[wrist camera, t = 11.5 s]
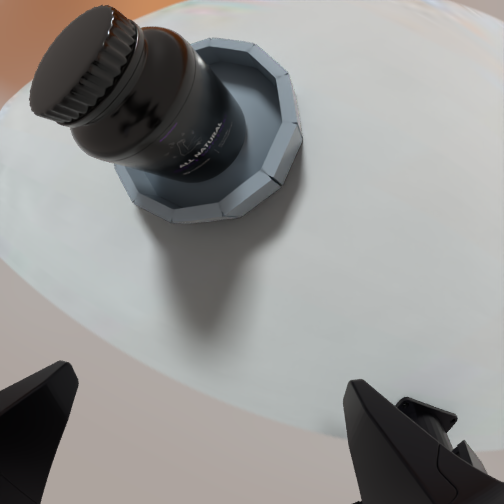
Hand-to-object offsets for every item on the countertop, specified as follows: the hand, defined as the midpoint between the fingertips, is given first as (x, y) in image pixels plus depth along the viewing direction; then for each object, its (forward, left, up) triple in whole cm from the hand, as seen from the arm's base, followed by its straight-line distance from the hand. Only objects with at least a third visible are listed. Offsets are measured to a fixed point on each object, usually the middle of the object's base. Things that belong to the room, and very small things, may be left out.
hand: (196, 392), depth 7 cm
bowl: (+9, -8, -11) cm, 17 cm away
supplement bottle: (+9, -8, -11) cm, 16 cm away
